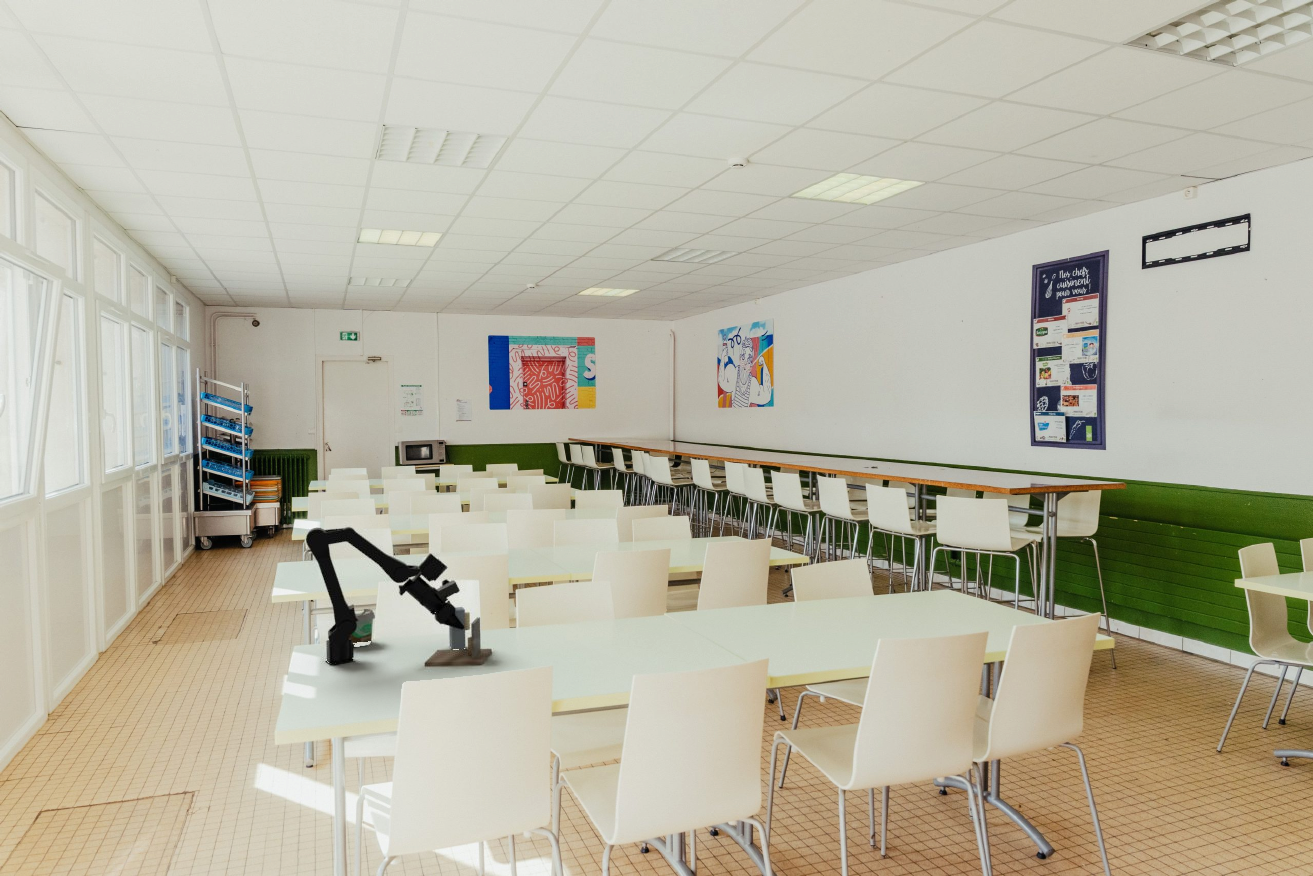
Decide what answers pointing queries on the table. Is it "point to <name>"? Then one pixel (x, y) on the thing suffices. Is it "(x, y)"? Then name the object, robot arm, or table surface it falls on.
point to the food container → (363, 627)
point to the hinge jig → (462, 651)
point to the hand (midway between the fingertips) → (461, 626)
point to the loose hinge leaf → (457, 634)
